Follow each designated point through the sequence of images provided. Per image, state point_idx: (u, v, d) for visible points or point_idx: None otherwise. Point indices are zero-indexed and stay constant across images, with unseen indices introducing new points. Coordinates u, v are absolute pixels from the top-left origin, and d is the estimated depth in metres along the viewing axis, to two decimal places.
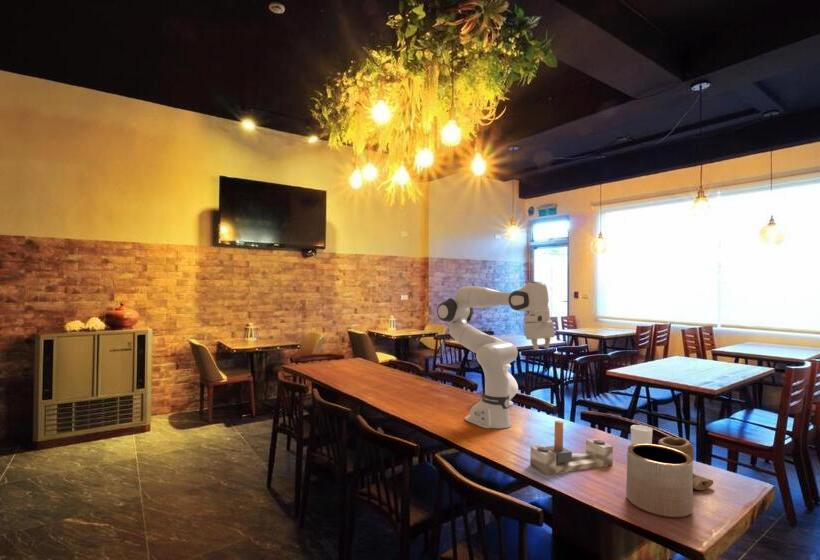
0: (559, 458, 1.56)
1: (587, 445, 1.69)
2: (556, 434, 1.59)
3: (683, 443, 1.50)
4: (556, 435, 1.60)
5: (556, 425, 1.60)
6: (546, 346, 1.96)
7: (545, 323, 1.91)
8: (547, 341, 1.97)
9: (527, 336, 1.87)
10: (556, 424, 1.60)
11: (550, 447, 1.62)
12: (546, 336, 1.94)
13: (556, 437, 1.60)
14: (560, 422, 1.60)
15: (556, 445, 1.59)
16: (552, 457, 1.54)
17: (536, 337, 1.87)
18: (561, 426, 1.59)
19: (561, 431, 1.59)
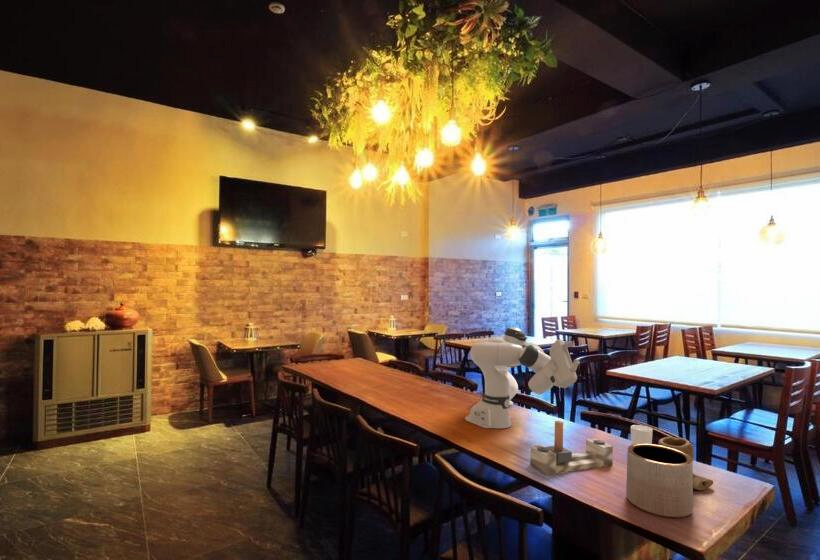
0: (559, 458, 1.56)
1: (587, 445, 1.69)
2: (556, 434, 1.59)
3: (683, 443, 1.50)
4: (556, 435, 1.60)
5: (556, 425, 1.60)
6: (570, 344, 1.83)
7: (553, 366, 1.85)
8: (566, 345, 1.85)
9: (574, 380, 1.76)
10: (556, 424, 1.60)
11: (550, 447, 1.62)
12: (562, 354, 1.84)
13: (556, 437, 1.60)
14: (560, 422, 1.60)
15: (556, 445, 1.59)
16: (552, 457, 1.54)
17: (568, 372, 1.77)
18: (561, 426, 1.59)
19: (561, 431, 1.59)
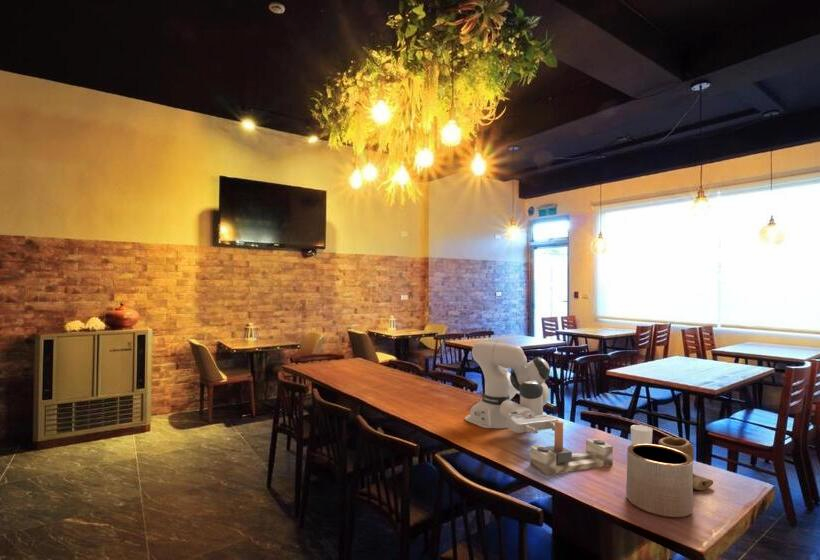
0: (559, 458, 1.56)
1: (587, 445, 1.69)
2: (556, 434, 1.59)
3: (683, 443, 1.50)
4: (556, 435, 1.60)
5: (556, 425, 1.60)
6: (553, 427, 1.71)
7: (527, 414, 1.79)
8: None
9: (515, 429, 1.71)
10: (556, 424, 1.60)
11: (550, 447, 1.62)
12: (541, 420, 1.75)
13: (556, 437, 1.60)
14: (560, 422, 1.60)
15: (556, 445, 1.59)
16: (552, 457, 1.54)
17: (522, 423, 1.72)
18: (561, 426, 1.59)
19: (561, 431, 1.59)
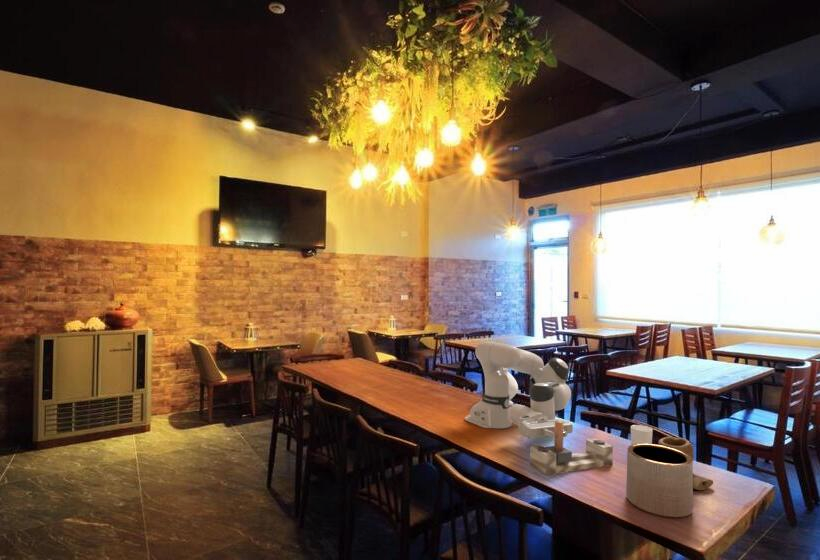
0: (559, 458, 1.56)
1: (587, 445, 1.69)
2: None
3: (683, 443, 1.50)
4: None
5: (556, 425, 1.60)
6: None
7: (540, 418, 1.70)
8: None
9: (527, 434, 1.62)
10: (556, 424, 1.60)
11: (550, 447, 1.62)
12: None
13: None
14: (560, 422, 1.60)
15: (556, 445, 1.59)
16: (552, 457, 1.54)
17: (535, 427, 1.62)
18: (561, 426, 1.59)
19: (561, 431, 1.59)
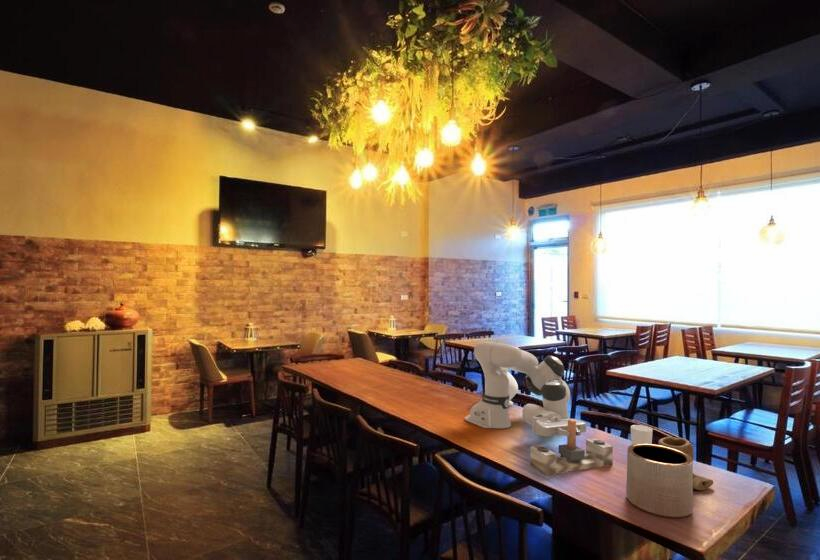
0: (572, 456, 1.58)
1: (587, 445, 1.69)
2: None
3: (683, 443, 1.50)
4: None
5: (569, 424, 1.62)
6: (576, 432, 1.62)
7: (553, 417, 1.71)
8: None
9: (541, 433, 1.63)
10: (569, 423, 1.62)
11: (563, 445, 1.64)
12: None
13: None
14: (573, 421, 1.62)
15: (569, 443, 1.61)
16: (552, 457, 1.54)
17: (549, 426, 1.64)
18: (574, 425, 1.61)
19: (574, 430, 1.61)
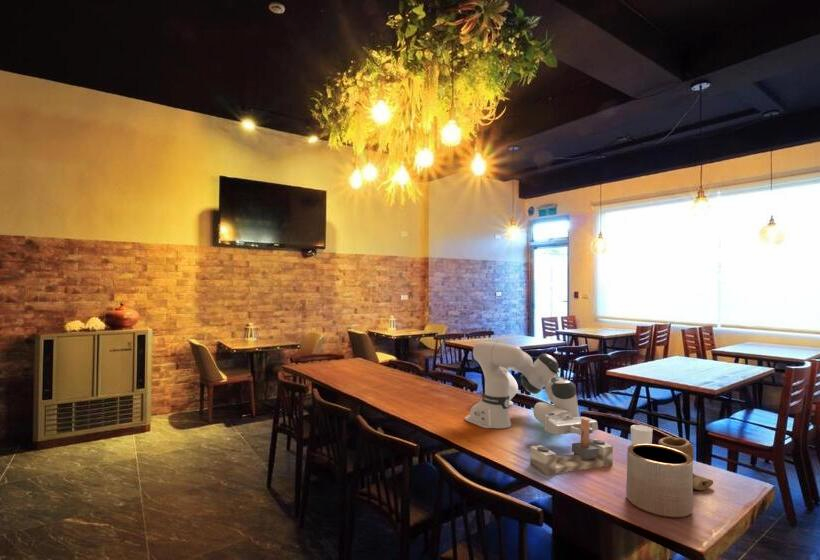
0: (586, 454, 1.60)
1: None
2: None
3: (683, 443, 1.50)
4: None
5: (582, 422, 1.64)
6: None
7: (565, 415, 1.74)
8: None
9: (554, 431, 1.66)
10: (582, 421, 1.64)
11: (576, 444, 1.66)
12: (580, 422, 1.69)
13: None
14: (586, 419, 1.64)
15: (582, 442, 1.63)
16: (552, 457, 1.54)
17: (561, 424, 1.66)
18: (587, 423, 1.63)
19: (587, 428, 1.63)
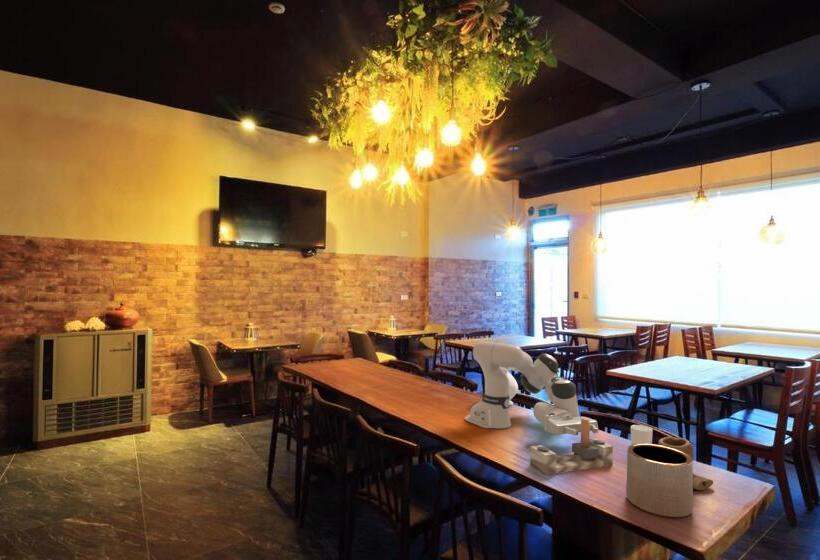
0: (586, 454, 1.60)
1: None
2: (583, 431, 1.64)
3: (683, 443, 1.50)
4: (582, 432, 1.64)
5: (582, 422, 1.64)
6: (593, 429, 1.66)
7: (565, 415, 1.74)
8: None
9: (554, 431, 1.66)
10: (582, 421, 1.64)
11: (576, 444, 1.66)
12: (580, 422, 1.69)
13: (582, 434, 1.64)
14: (586, 419, 1.64)
15: (583, 442, 1.64)
16: (552, 457, 1.54)
17: (561, 424, 1.66)
18: (587, 423, 1.63)
19: (587, 428, 1.63)
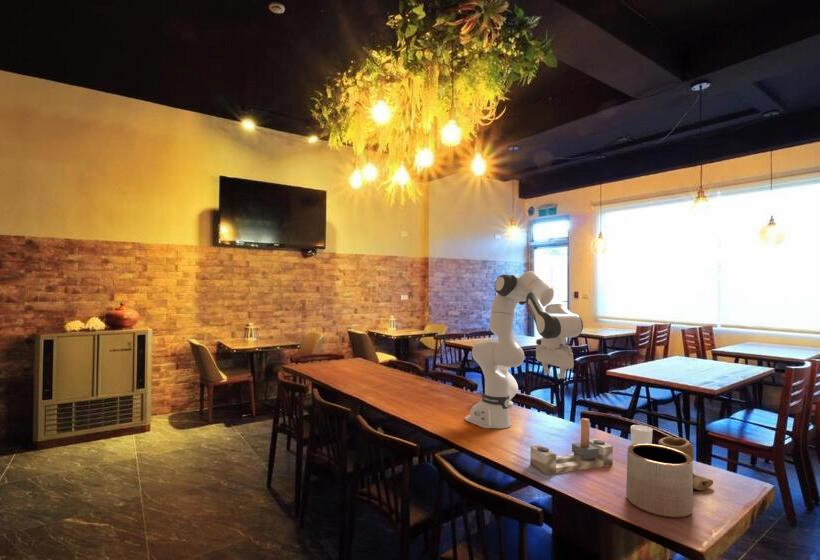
0: (586, 454, 1.60)
1: None
2: (583, 431, 1.64)
3: (683, 443, 1.50)
4: (582, 432, 1.64)
5: (582, 422, 1.64)
6: None
7: (547, 349, 1.82)
8: None
9: None
10: (582, 421, 1.64)
11: (576, 444, 1.66)
12: (553, 364, 1.80)
13: (582, 434, 1.64)
14: (586, 419, 1.64)
15: (583, 442, 1.64)
16: (552, 457, 1.54)
17: (539, 360, 1.89)
18: (587, 423, 1.63)
19: (587, 428, 1.63)
